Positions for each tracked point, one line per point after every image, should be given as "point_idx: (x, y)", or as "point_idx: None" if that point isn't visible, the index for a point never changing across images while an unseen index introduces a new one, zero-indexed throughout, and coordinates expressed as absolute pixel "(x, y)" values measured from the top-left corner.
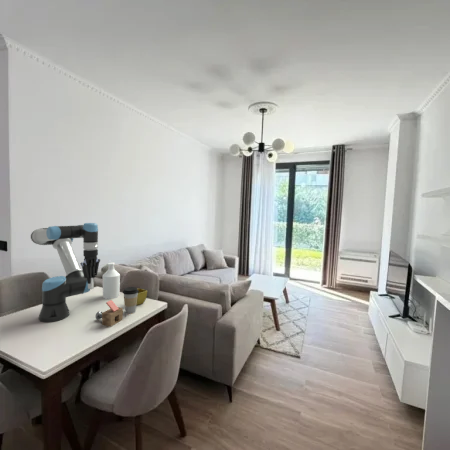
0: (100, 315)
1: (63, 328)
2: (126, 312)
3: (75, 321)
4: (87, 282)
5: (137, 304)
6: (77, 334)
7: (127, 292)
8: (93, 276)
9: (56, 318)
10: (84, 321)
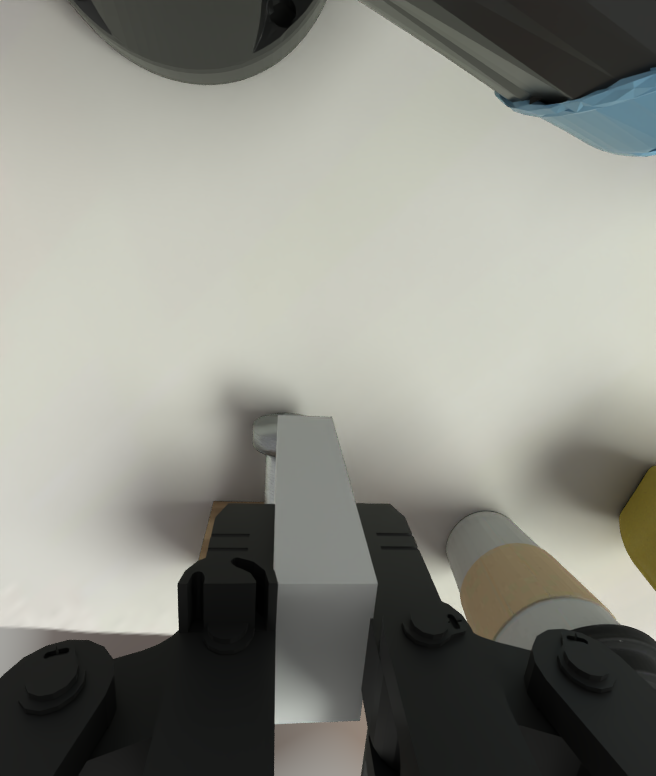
0: (269, 466)
1: (35, 259)
2: (452, 535)
3: (187, 251)
4: (214, 529)
5: (619, 521)
6: (16, 446)
7: None
8: (374, 761)
9: (105, 37)
10: (217, 330)
